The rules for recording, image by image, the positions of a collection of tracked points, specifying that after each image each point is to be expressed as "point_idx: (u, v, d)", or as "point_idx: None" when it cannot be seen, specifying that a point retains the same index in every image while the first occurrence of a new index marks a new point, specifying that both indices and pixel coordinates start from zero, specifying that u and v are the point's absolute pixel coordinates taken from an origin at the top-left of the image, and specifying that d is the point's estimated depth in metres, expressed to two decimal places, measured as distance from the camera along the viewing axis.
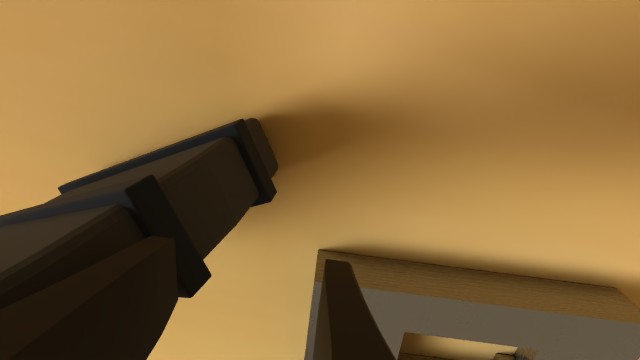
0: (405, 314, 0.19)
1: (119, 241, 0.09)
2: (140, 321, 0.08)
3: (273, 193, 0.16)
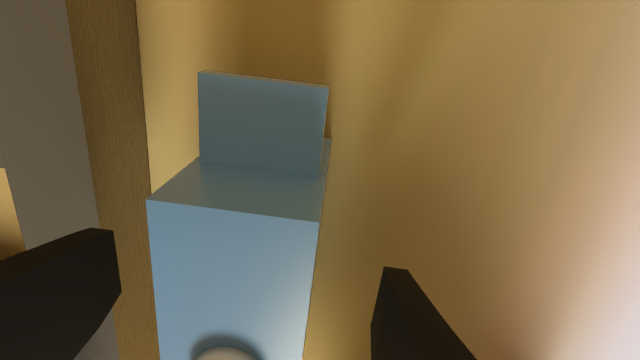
0: None
1: None
2: (70, 311, 0.08)
3: None
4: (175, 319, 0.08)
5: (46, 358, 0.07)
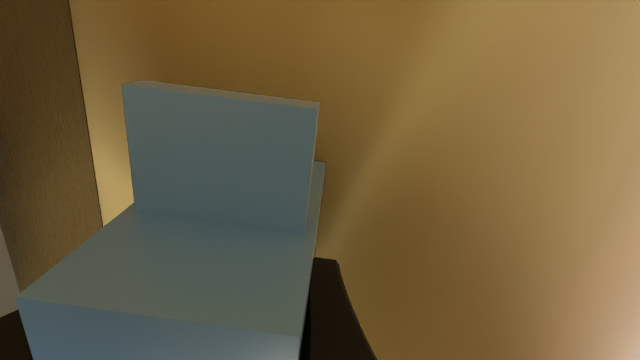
0: None
1: None
2: None
3: None
4: None
5: None
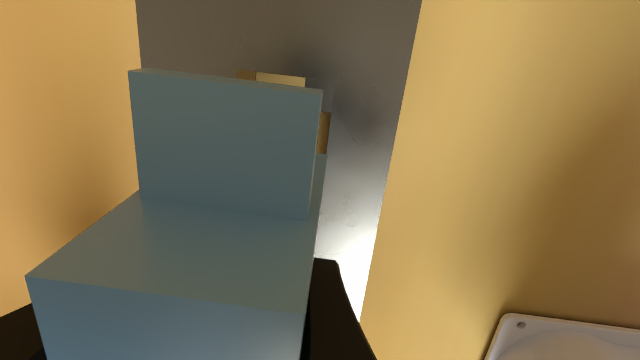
0: None
1: None
2: None
3: None
4: None
5: None
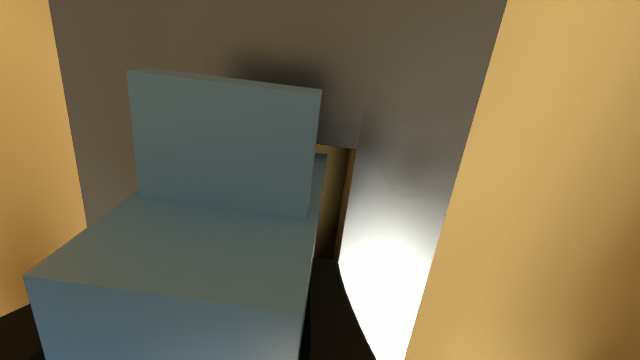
0: None
1: None
2: None
3: None
4: None
5: None
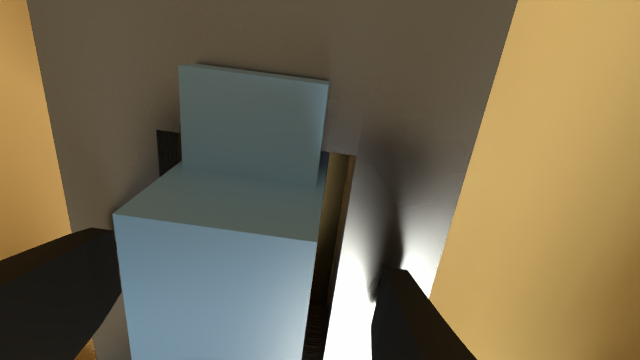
0: None
1: None
2: (70, 311, 0.08)
3: None
4: (151, 348, 0.07)
5: (46, 358, 0.07)
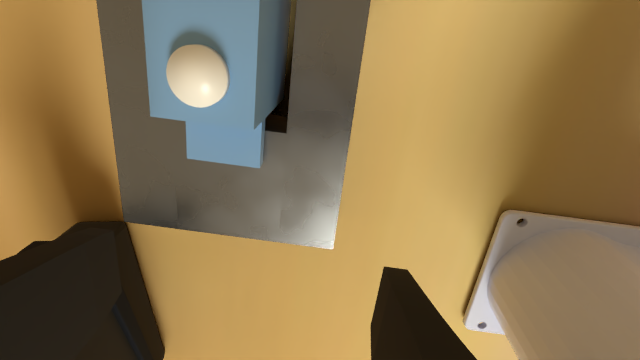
0: (143, 119, 0.14)
1: None
2: (70, 311, 0.08)
3: None
4: (157, 15, 0.10)
5: (46, 358, 0.07)
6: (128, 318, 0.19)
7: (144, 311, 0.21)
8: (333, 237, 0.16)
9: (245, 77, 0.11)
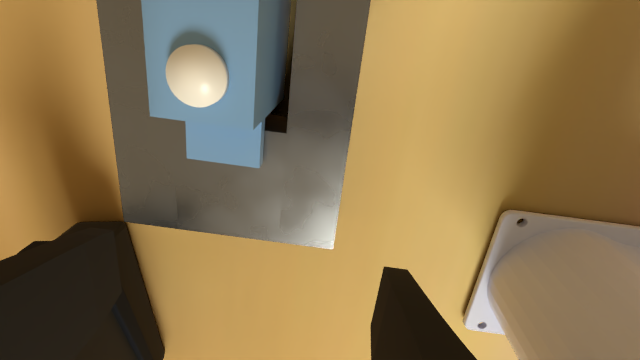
0: (143, 119, 0.14)
1: None
2: (70, 311, 0.08)
3: None
4: (157, 15, 0.10)
5: (46, 358, 0.07)
6: (128, 318, 0.19)
7: (144, 311, 0.21)
8: (333, 237, 0.16)
9: (244, 77, 0.11)
